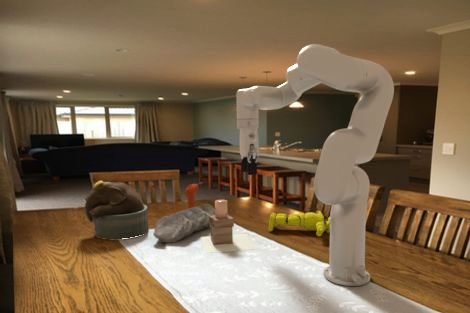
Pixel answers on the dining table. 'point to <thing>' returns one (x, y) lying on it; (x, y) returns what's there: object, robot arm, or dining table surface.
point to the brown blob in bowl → (116, 211)
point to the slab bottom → (221, 240)
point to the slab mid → (222, 231)
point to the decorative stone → (183, 223)
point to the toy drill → (192, 194)
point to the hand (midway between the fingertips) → (248, 173)
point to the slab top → (221, 222)
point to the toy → (302, 221)
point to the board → (238, 244)
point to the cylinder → (221, 209)
